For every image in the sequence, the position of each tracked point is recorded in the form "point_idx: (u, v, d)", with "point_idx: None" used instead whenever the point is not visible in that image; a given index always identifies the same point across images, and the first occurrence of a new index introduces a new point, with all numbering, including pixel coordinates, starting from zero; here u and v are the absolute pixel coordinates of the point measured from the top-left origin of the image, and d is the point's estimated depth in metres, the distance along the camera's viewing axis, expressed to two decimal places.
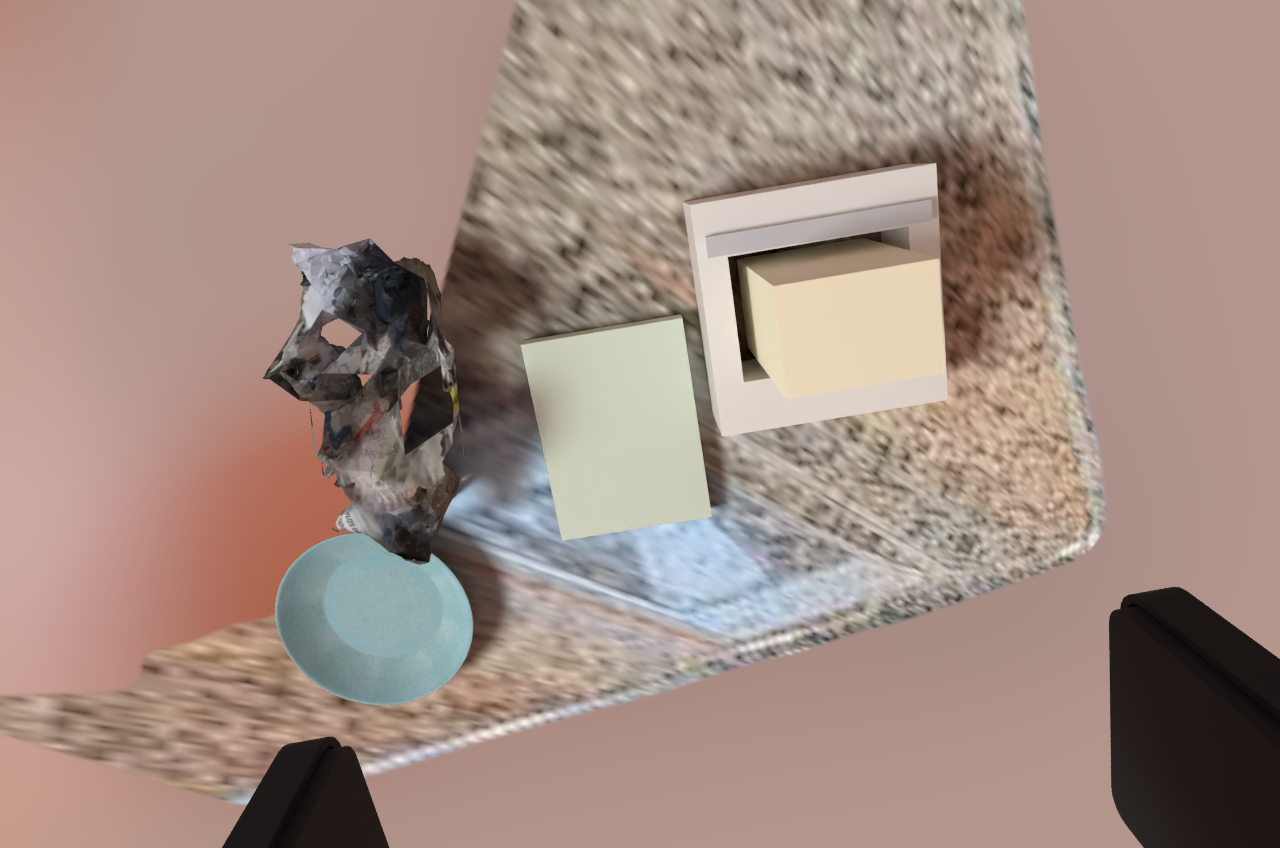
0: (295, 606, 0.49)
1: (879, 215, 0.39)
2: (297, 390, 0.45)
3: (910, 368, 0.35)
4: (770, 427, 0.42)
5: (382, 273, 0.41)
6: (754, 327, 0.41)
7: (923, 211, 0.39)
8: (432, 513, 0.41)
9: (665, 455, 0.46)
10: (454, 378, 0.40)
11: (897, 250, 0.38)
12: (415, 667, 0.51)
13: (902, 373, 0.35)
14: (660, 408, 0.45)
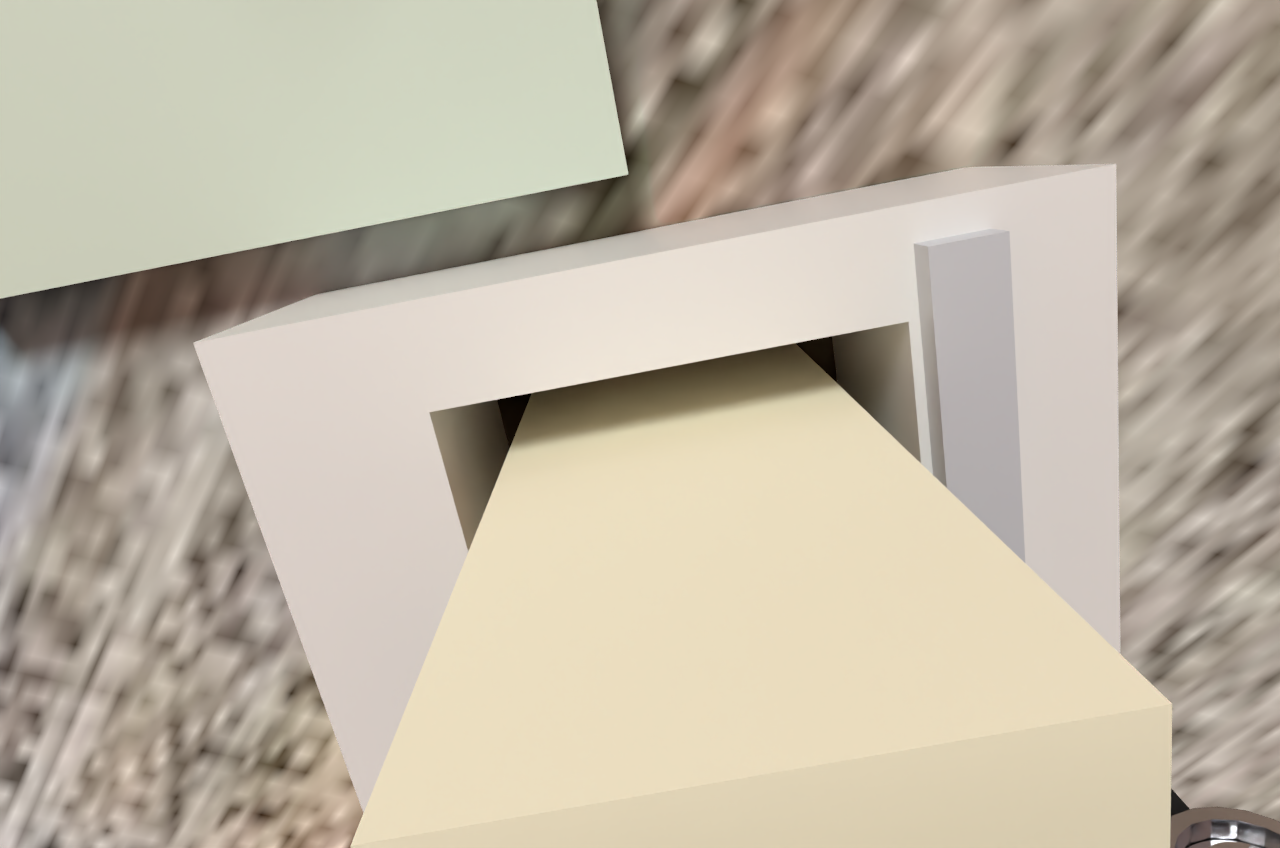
0: None
1: None
2: None
3: None
4: (262, 521, 0.11)
5: None
6: (631, 429, 0.12)
7: None
8: None
9: (124, 131, 0.13)
10: None
11: None
12: None
13: None
14: (300, 106, 0.13)
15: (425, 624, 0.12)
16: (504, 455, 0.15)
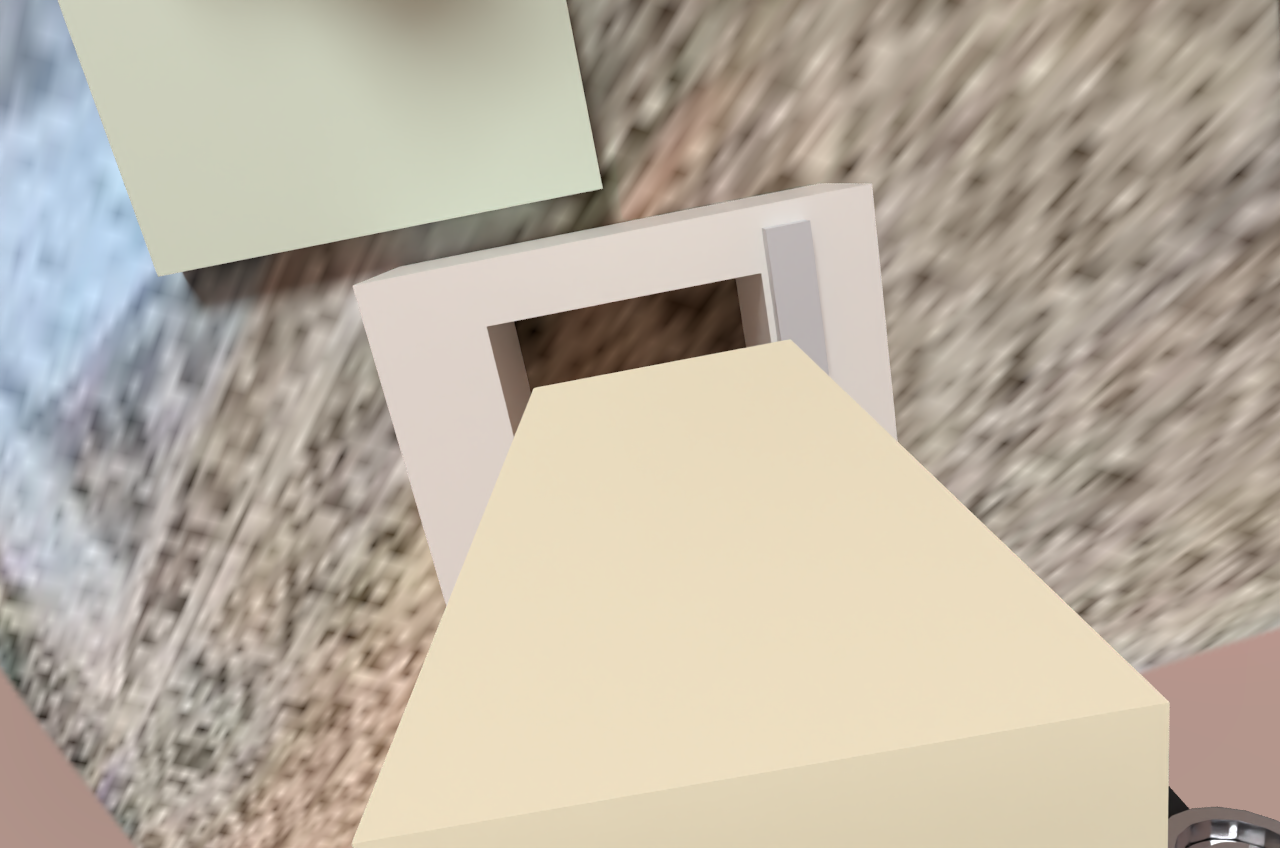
0: None
1: None
2: None
3: None
4: (387, 393, 0.19)
5: None
6: (631, 429, 0.12)
7: None
8: None
9: (289, 162, 0.21)
10: None
11: None
12: None
13: None
14: (399, 146, 0.21)
15: (481, 458, 0.20)
16: (523, 372, 0.23)
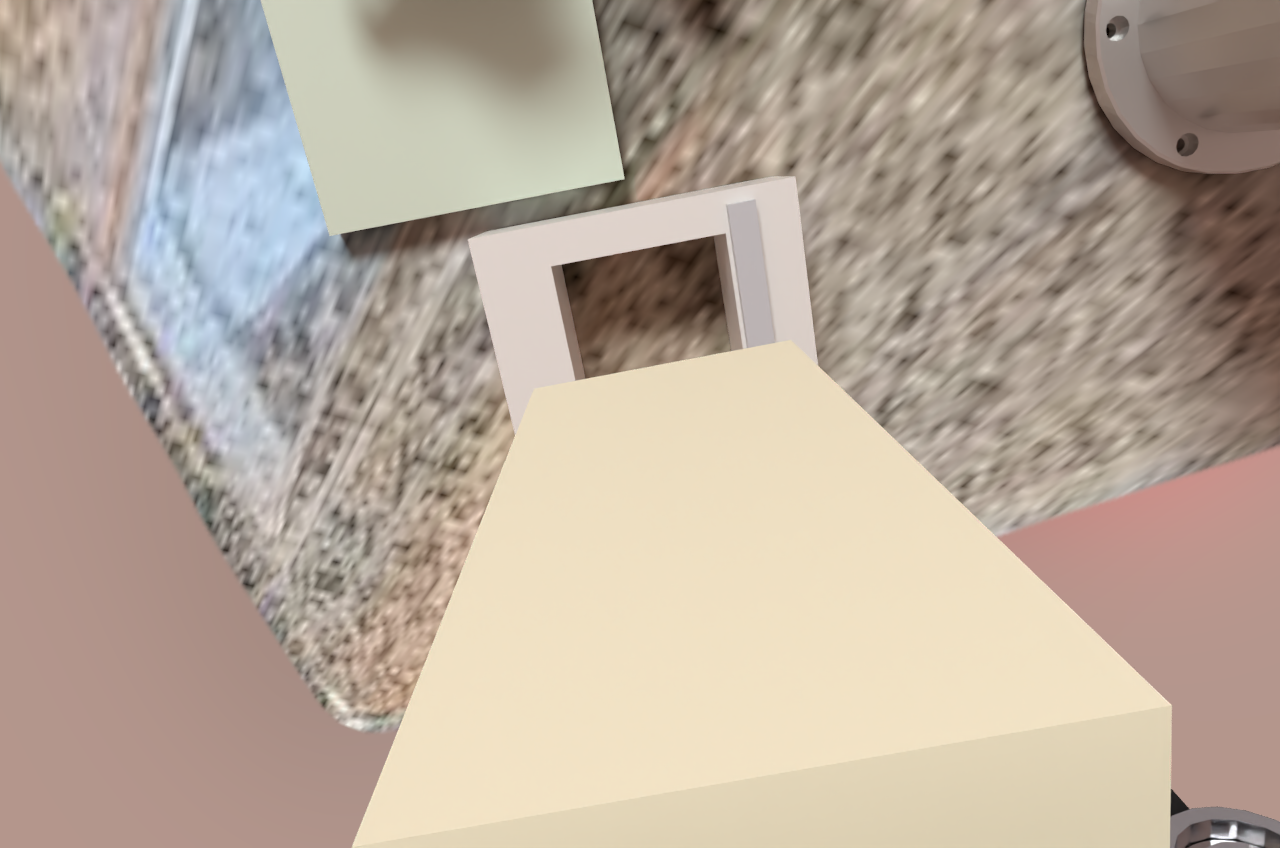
0: None
1: None
2: None
3: None
4: (486, 309, 0.30)
5: None
6: (631, 430, 0.12)
7: None
8: None
9: (419, 160, 0.31)
10: None
11: None
12: None
13: None
14: (491, 150, 0.31)
15: (545, 353, 0.30)
16: (568, 304, 0.34)
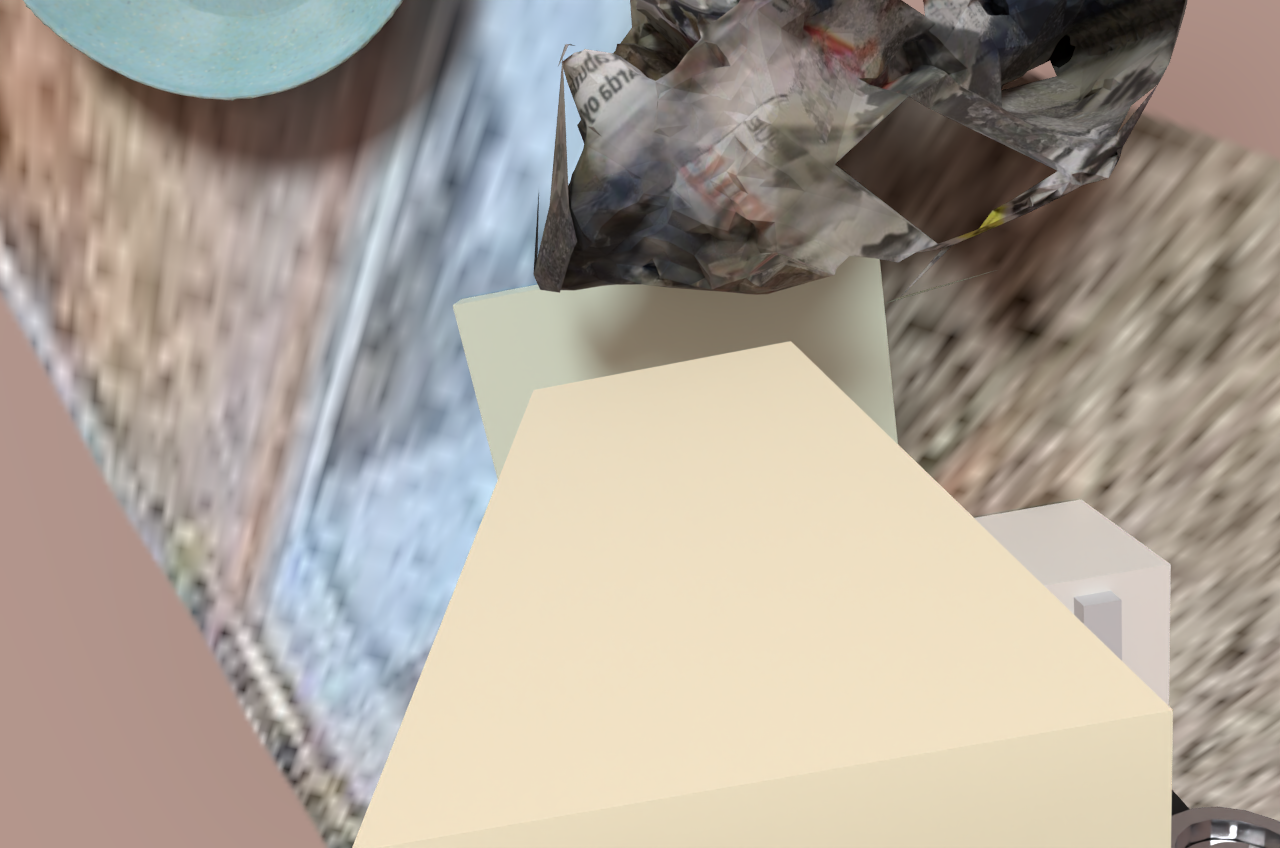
0: None
1: None
2: None
3: None
4: None
5: None
6: (631, 432, 0.12)
7: None
8: (714, 275, 0.17)
9: None
10: (1027, 209, 0.18)
11: None
12: None
13: None
14: None
15: None
16: None
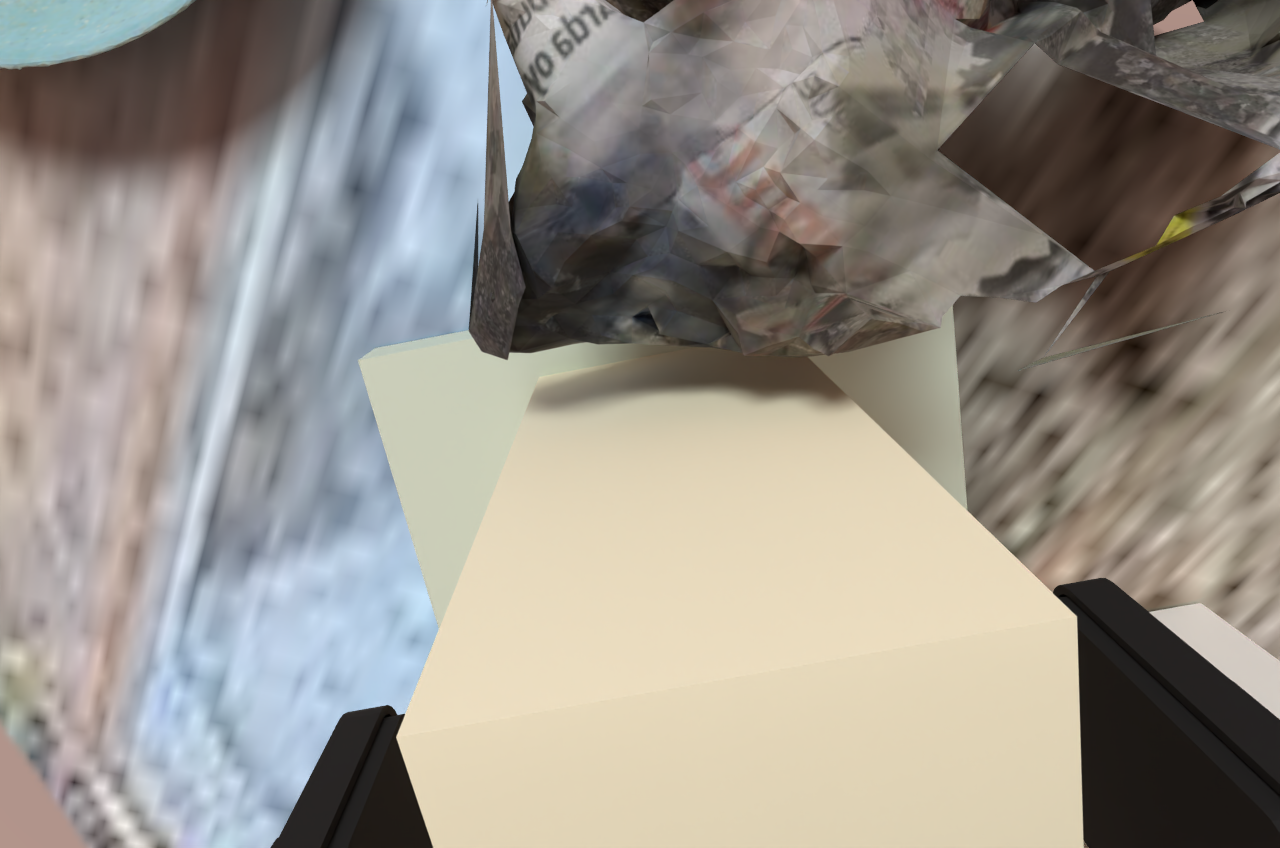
0: None
1: None
2: None
3: None
4: None
5: None
6: (630, 412, 0.13)
7: None
8: (746, 333, 0.11)
9: None
10: (1228, 212, 0.11)
11: None
12: None
13: None
14: None
15: None
16: None
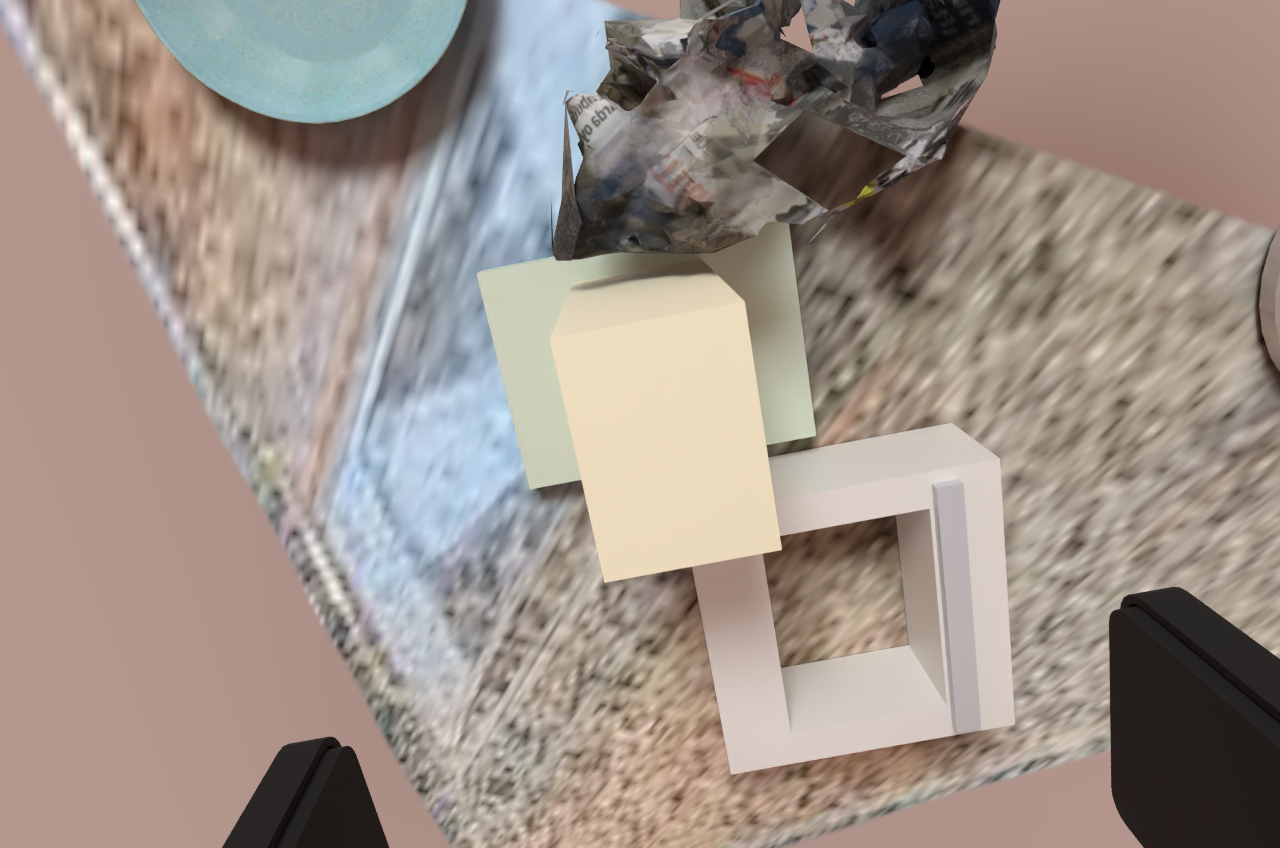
0: None
1: (968, 678, 0.32)
2: None
3: (610, 531, 0.22)
4: (696, 577, 0.31)
5: (953, 6, 0.27)
6: (620, 287, 0.27)
7: (968, 723, 0.33)
8: (676, 241, 0.25)
9: None
10: (889, 183, 0.26)
11: None
12: (200, 6, 0.28)
13: (602, 520, 0.22)
14: None
15: (749, 614, 0.31)
16: None
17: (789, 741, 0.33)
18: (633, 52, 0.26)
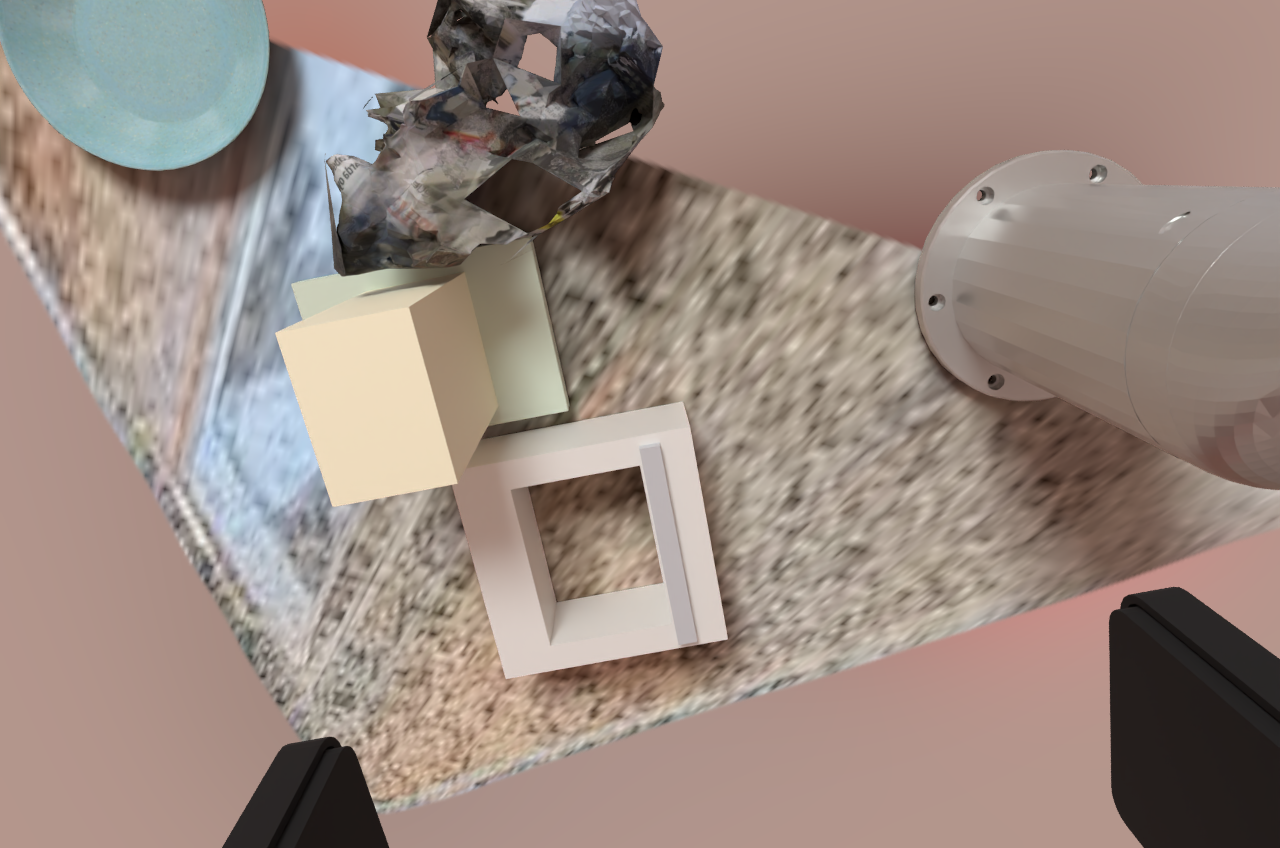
0: None
1: (682, 600, 0.41)
2: (440, 30, 0.37)
3: (332, 469, 0.31)
4: (462, 519, 0.40)
5: (629, 75, 0.36)
6: (380, 294, 0.36)
7: (686, 636, 0.42)
8: (414, 259, 0.34)
9: None
10: (574, 211, 0.34)
11: (474, 440, 0.35)
12: (70, 82, 0.37)
13: (325, 462, 0.31)
14: None
15: (507, 549, 0.40)
16: (528, 496, 0.44)
17: (549, 652, 0.42)
18: (387, 119, 0.35)
